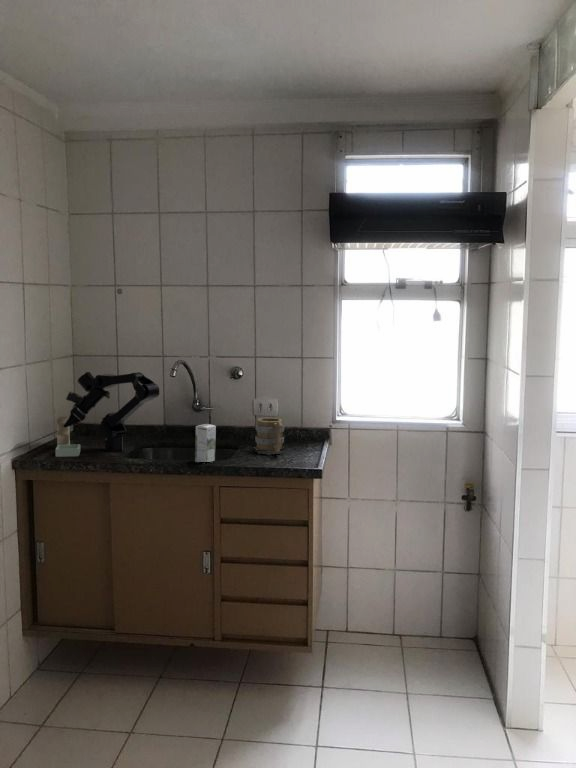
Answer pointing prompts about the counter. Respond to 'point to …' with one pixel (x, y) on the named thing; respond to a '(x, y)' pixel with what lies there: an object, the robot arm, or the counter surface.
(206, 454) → the syrup box
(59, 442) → the birch block
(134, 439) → the counter surface
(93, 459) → the counter surface
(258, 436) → the tankard
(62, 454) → the holder
